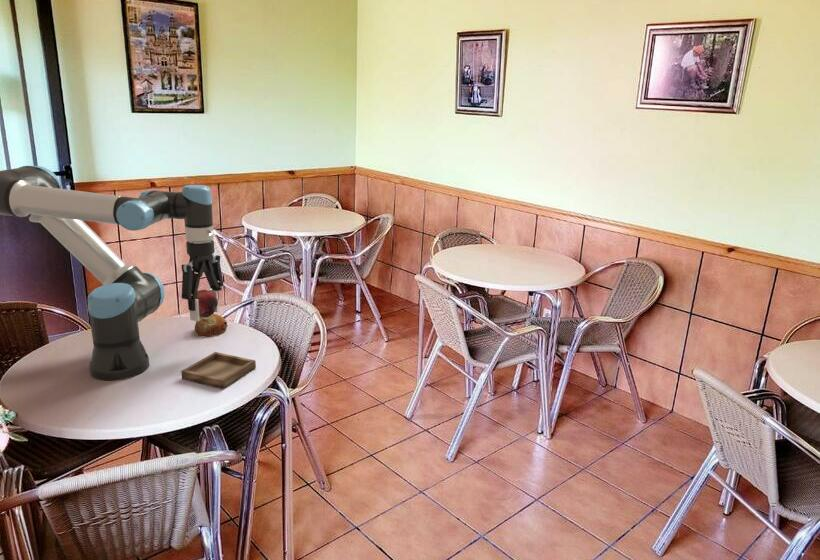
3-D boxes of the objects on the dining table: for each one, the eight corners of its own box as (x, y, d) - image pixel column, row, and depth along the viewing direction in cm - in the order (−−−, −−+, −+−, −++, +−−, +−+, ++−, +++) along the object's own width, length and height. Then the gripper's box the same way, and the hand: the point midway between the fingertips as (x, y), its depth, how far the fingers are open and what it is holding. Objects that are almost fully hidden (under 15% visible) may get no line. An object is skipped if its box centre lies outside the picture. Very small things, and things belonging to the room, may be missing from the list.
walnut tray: (181, 379, 163) (181, 370, 163) (215, 359, 176) (215, 351, 175) (224, 389, 158) (223, 380, 158) (255, 368, 171) (255, 360, 170)
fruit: (203, 310, 182) (202, 285, 179) (224, 314, 179) (222, 289, 177) (185, 318, 175) (183, 292, 172) (206, 323, 172) (204, 296, 170)
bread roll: (201, 336, 201) (189, 317, 198) (229, 322, 203) (217, 302, 200) (201, 348, 192) (188, 328, 189) (230, 332, 194) (218, 312, 191)
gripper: (184, 249, 160) (190, 329, 166) (234, 234, 178) (237, 307, 185) (162, 246, 162) (169, 324, 169) (213, 231, 180) (217, 303, 187)
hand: (204, 315), depth 177 cm, fingers closed on fruit, 8 cm apart
